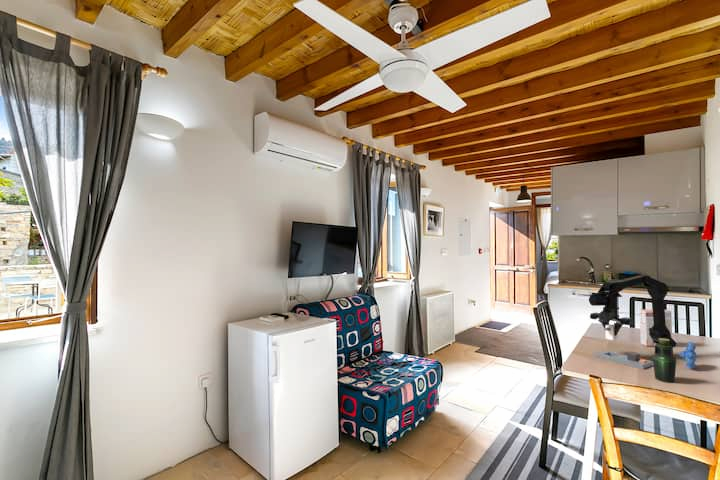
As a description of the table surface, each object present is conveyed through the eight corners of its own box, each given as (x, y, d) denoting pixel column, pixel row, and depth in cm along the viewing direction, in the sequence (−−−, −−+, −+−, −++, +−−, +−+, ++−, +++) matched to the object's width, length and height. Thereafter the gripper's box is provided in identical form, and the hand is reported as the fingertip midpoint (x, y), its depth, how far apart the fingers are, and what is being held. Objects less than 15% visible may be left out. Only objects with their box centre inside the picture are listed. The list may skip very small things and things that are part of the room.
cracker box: (665, 344, 211) (664, 308, 211) (672, 347, 205) (672, 310, 205) (639, 344, 212) (639, 308, 212) (646, 347, 206) (646, 310, 206)
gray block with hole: (652, 365, 177) (652, 355, 177) (643, 369, 172) (642, 358, 172) (604, 353, 196) (604, 344, 196) (594, 356, 191) (594, 347, 191)
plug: (617, 338, 188) (617, 325, 188) (610, 340, 185) (610, 327, 185) (610, 337, 191) (609, 324, 191) (603, 339, 188) (603, 325, 188)
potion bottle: (665, 376, 163) (664, 336, 163) (682, 383, 155) (681, 341, 155) (648, 376, 163) (647, 337, 163) (663, 383, 155) (663, 342, 155)
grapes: (680, 362, 180) (679, 338, 180) (698, 365, 175) (698, 341, 175) (678, 368, 172) (677, 343, 172) (697, 372, 167) (697, 346, 167)
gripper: (584, 304, 193) (584, 333, 193) (623, 309, 176) (623, 341, 176) (595, 302, 198) (595, 330, 198) (634, 307, 182) (634, 338, 182)
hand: (611, 335), depth 188 cm, fingers closed on plug, 3 cm apart
